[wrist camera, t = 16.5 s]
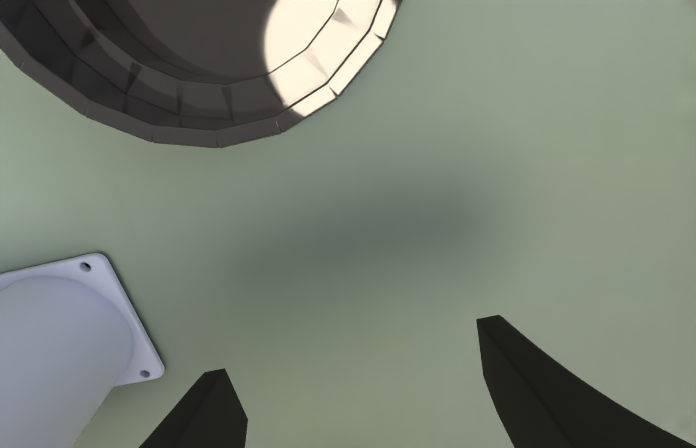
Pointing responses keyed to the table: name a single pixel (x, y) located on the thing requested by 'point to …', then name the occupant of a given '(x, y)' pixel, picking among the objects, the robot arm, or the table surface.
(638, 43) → the table surface
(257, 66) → the bowl
